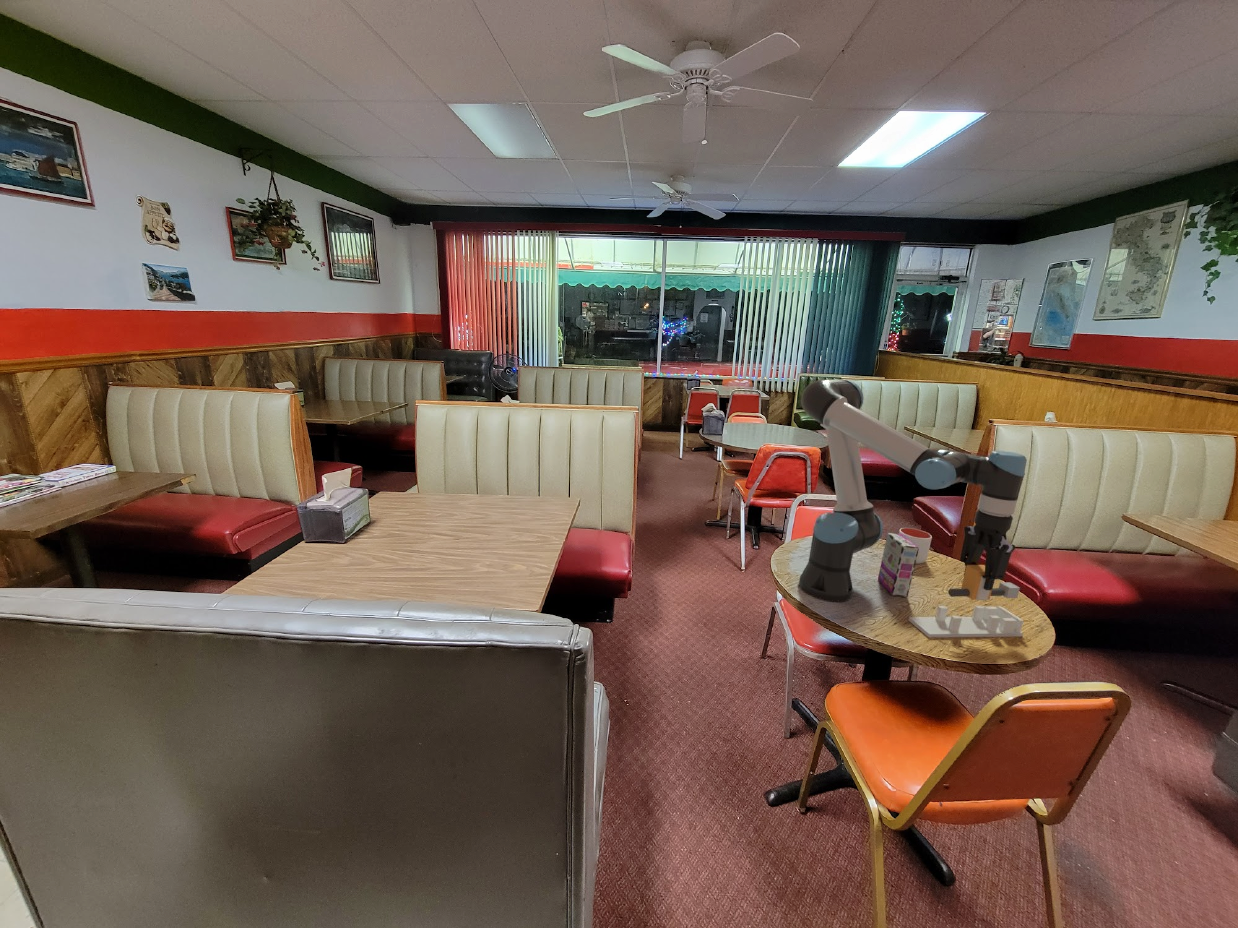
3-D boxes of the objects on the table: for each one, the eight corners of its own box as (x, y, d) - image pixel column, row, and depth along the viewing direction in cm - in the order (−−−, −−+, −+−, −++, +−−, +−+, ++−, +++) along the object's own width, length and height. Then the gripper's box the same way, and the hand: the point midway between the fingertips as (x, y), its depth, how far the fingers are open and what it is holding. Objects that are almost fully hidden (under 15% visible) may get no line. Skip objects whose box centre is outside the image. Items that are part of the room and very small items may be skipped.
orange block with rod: (956, 599, 127) (962, 571, 125) (944, 592, 131) (951, 565, 129) (1018, 598, 129) (1026, 571, 127) (1005, 591, 133) (1012, 564, 131)
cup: (927, 567, 169) (933, 540, 167) (895, 560, 173) (900, 534, 171) (924, 556, 178) (930, 531, 176) (893, 550, 182) (898, 525, 180)
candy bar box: (909, 597, 148) (920, 547, 144) (891, 596, 148) (902, 546, 144) (893, 580, 158) (903, 533, 154) (877, 578, 159) (886, 531, 155)
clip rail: (928, 637, 128) (932, 620, 126) (908, 620, 135) (912, 604, 134) (1022, 636, 130) (1027, 619, 129) (997, 619, 138) (1001, 603, 137)
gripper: (1039, 524, 116) (1015, 611, 122) (981, 501, 133) (962, 579, 139) (1010, 524, 116) (987, 612, 121) (955, 501, 132) (938, 579, 138)
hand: (974, 594), depth 130 cm, fingers closed on orange block with rod, 4 cm apart
